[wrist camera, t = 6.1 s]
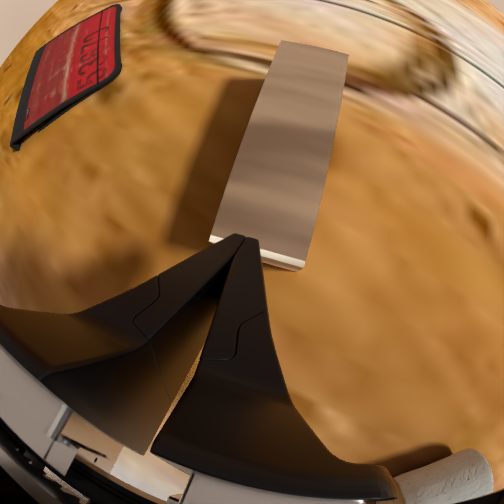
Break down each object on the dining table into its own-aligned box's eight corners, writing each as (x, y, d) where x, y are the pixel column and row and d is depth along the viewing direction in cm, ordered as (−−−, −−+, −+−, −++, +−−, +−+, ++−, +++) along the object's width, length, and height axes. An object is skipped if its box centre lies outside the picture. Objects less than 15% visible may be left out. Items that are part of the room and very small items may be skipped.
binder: (7, 146, 19) (34, 51, 22) (19, 153, 21) (40, 58, 24) (120, 68, 19) (120, -2, 22) (129, 82, 21) (125, 8, 24)
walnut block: (303, 267, 12) (348, 54, 13) (208, 241, 13) (281, 40, 14) (296, 272, 17) (338, 93, 18) (226, 252, 17) (281, 80, 18)
